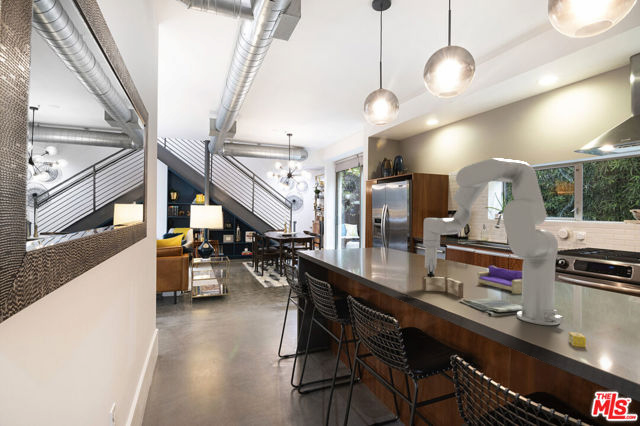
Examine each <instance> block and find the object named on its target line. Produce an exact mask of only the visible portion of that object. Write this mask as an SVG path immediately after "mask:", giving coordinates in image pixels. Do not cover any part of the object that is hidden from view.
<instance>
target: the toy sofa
mask: <svg viewBox="0 0 640 426" xmlns="http://www.w3.org/2000/svg"><path fill="white" fill-rule="evenodd" d="M476 274H477V286H492V287H496V288H499V289H502V290H508V291H510V292H511V294H514V295H515V294H517V295H522V270H513V269H512V270H511V269H506V268H501V267H497V266H495V265H489V266H488V271H481V272H480V271H479V272H477V273H476Z"/></svg>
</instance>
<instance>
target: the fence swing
mask: <svg viewBox="0 0 640 426" xmlns="http://www.w3.org/2000/svg"><path fill="white" fill-rule="evenodd" d="M421 277H422V280H421V281H422V284H421V286H422V287H421V290H422V291H423V292H425V291H426V292H427V291H429V292H445V277H446V276H445V277H442V276H435V277H427V276H425V275H424V276H423V275H422V276H421Z"/></svg>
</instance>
